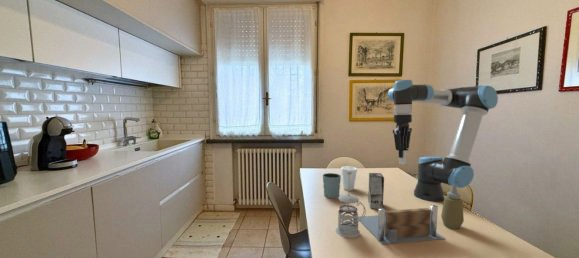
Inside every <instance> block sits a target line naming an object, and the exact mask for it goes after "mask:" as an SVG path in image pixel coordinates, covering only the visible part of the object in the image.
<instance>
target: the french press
mask: <svg viewBox="0 0 579 258" xmlns="http://www.w3.org/2000/svg"><path fill="white" fill-rule="evenodd" d="M347 174H349V175H350V174H352V173H351V171H347ZM337 199H338V200H339V201H340V202H341V203H345V204H341V205H340V206H339V209H338V212H337V213H338V215H337V216H338V218H337V219H338V221H337V222H338V223H337V228H335V232H336V234H338V235H339V236H341V237H343V238H350V239H351V238H356V237H357V238H358V237H359V236H360V235H361V231H360V230H359V222H360V220H362V219H363V218H364V217H363V218H362V219H360V220H358V219H359V218H358V217H360V216H359V213H358V208H357V206H358V207H359V205H362V207H363V210H364V211H363V213H362V214H361V217H362V216H366V213H367V212H366V211H367V210H366V207H365V205H364V204H363V203H362V202H361V201H360V200H359V198H358V196H356V195H354V194H351V193H350V192H348V193H345V194H340V195H339V197H338V198H337ZM350 204H356V205H357V206H354V205H350ZM361 217H360V218H361Z"/></svg>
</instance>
